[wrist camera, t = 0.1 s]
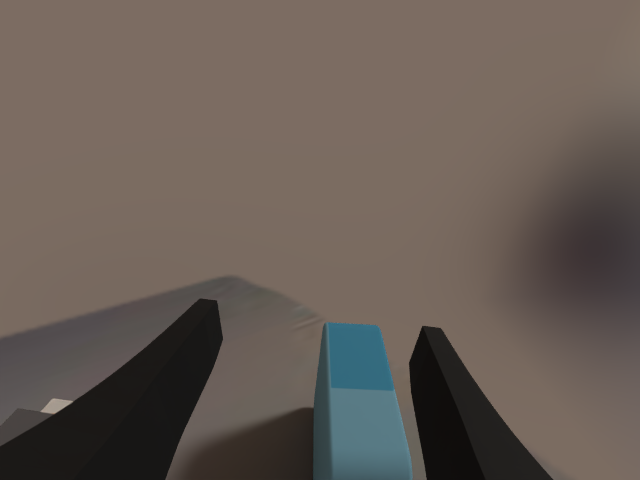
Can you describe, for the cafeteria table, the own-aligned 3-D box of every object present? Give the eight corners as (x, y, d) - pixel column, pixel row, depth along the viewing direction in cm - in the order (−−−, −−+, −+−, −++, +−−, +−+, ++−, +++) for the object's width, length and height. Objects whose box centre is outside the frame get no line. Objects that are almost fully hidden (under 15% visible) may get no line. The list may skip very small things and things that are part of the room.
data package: (377, 569, 22) (418, 484, 16) (311, 568, 22) (329, 482, 16) (357, 404, 32) (378, 316, 26) (313, 402, 32) (324, 313, 26)
